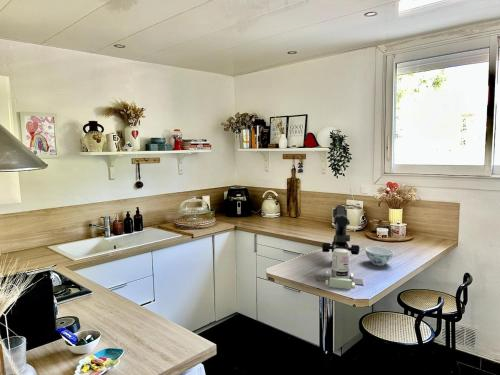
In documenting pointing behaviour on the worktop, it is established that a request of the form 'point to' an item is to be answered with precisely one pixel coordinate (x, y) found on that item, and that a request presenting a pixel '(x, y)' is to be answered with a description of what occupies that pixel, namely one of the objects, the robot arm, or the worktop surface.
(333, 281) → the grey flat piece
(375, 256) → the chinaware
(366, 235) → the worktop surface
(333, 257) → the supplement can
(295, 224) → the worktop surface
